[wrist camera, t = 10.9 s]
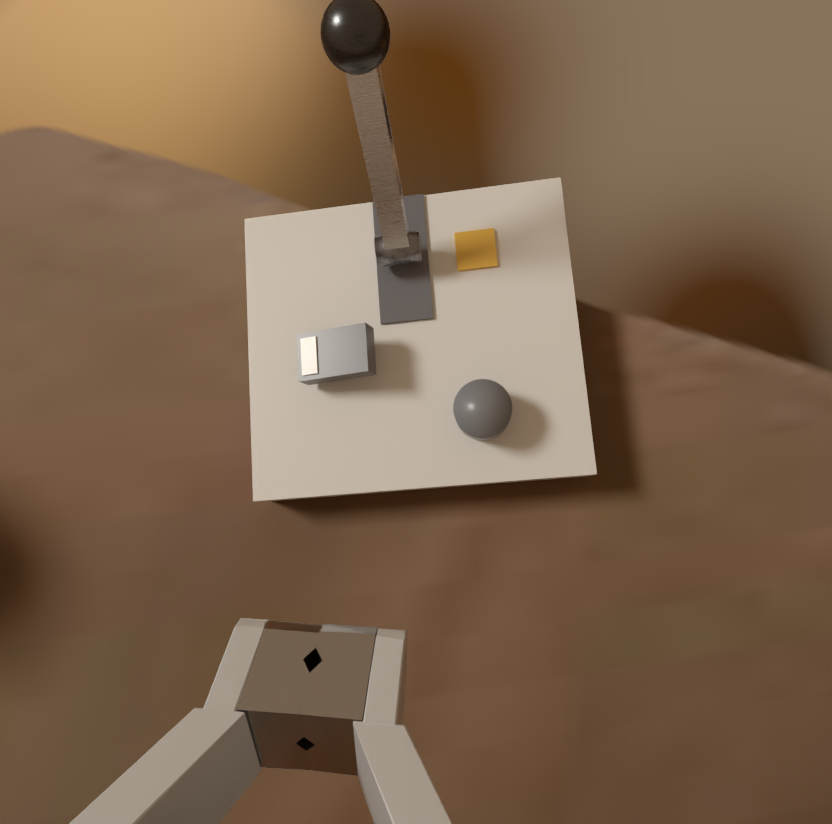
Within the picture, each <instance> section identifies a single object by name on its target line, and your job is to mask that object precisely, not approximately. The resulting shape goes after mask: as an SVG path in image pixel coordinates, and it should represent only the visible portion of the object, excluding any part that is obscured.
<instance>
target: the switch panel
mask: <svg viewBox="0 0 832 824" xmlns="http://www.w3.org/2000/svg"><path fill="white" fill-rule="evenodd" d="M403 200H404V206H405V211H406V217H407V222H408V228H409V231H417V230H419V231H420V236H421V243H422V253H423V262H418V263H409V264H401V265H393V266H384V267H379V266H378V264H377V260H376V255H375V246H374V237H375V236H378V235H382V233H381V229H380V225H379V220H378V216H377V211H376V207H375V202H374V200H373V201H372V202H370V203H363V204H356V205H348V206H340V207H332V208H325V209H317V210H309V211H302V212H294V213H287V214H279V215H272V216H264V217H256V218H249V219H245V250H246V283H247V316H248V349H249V382H250V415H251V447H252V480H253V501H281V500H294V499H307V498H319V497H332V496H345V495H358V494H370V493H383V492H396V491H408V490H421V489H434V488H447V487H459V486H472V485H485V484H497V483H510V482H523V481H536V480H548V479H561V478H574V477H587V476H592V475H596V474H597V470H596V462H595V454H594V445H593V437H592V429H591V421H590V413H589V405H588V397H587V389H586V380H585V372H584V364H583V356H582V348H581V340H580V332H579V324H578V315H577V307H576V299H575V291H574V283H573V275H572V267H571V259H570V251H569V242H568V234H567V227H566V219H565V210H564V202H563V194H562V186H561V179H560V178H552V179H545V180H537V181H530V182H522V183H515V184H507V185H500V186H492V187H484V188H477V189H469V190H462V191H454V192H446V193H439V194H431V195H423V194H418V195H411V196H403ZM360 323H367V324H368V325H370V326H371V327H373V328H374V343H375V358H376V373H377V375H373V376H366V377H359V378H353V379H346V380H340V381H333V382H326V383H320V384H313V385H307V384H304V383H301V382H298V360H297V337H296V335H300V334H305V333H310V332H316V331H321V330H327V329H332V328H338V327H343V326H349V325H354V324H360ZM478 379H488V380H492V381H495V382H497V383H499V384H500V385H502V386H503V387H504V388H505V389H506V391H507V392H508V394H509V396H510V398H511V401H512V415H511V418H510V422H509V424H508V426H507V428H506V429H505V430H504V431H503V433H501V434H500V435H499V436H497V437H495V438H493V439H490V440H476V439H473V438H470V437H469V436H467V435H466V434H464V433H463V432H462V431H461V429H460V428H459V426H458V424H457V422H456V419H455V416H454V412H453V404H454V400H455V397H456V395H457V393H458V392H459V390H460V389H461V388H462V387H463V386H464V385H465V384H467V383H469V382H471V381H474V380H478Z"/></svg>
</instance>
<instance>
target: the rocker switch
mask: <svg viewBox="0 0 832 824" xmlns="http://www.w3.org/2000/svg"><path fill="white" fill-rule="evenodd" d="M296 337H297V360H298V382H301V383H304V384H307V385H313V384H320V383H326V382H333V381H340V380H346V379H353V378H359V377H366V376H373V375H377V373H376V358H375V343H374V328H373V327H371V326H370V325H368V324H367V323H360V324H354V325H349V326H343V327H338V328H332V329H327V330H321V331H316V332H310V333H305V334H300V335H296Z"/></svg>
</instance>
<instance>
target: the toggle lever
mask: <svg viewBox="0 0 832 824" xmlns="http://www.w3.org/2000/svg"><path fill="white" fill-rule="evenodd" d="M321 40H322V45H323V48H324V51H325V53H326V55H327V56H328V58H329V59H330V61H331V62H332V63H333V64H334V65H335V66H336V67H337V68H339V69H340V70H342V71H343V72H345V74H346V79H347V83H348V87H349V92H350V96H351V101H352V105H353V109H354V114H355V118H356V123H357V127H358V131H359V136H360V140H361V145H362V149H363V154H364V158H365V163H366V167H367V171H368V176H369V180H370V185H371V189H372V194H373V198H374V202H375V207H376V211H377V216H378V220H379V225H380V229H381V233H382V235H378V236H375V237H374V246H375V255H376V260H377V264H378V266H379V267H384V266H393V265H401V264H409V263H418V262H423V253H422V243H421V236H420V231H419V230H417V231H409V228H408V222H407V217H406V211H405V206H404V200H403V195H402V189H401V183H400V178H399V172H398V167H397V161H396V156H395V150H394V145H393V139H392V133H391V128H390V122H389V117H388V111H387V105H386V101H385V94H384V89H383V84H382V78H381V72H380V66H379V65H380V64H381V63H382V62H383V60H384V59H385V57H386V55H387V52H388V49H389V45H390V27H389V22H388V19H387V17H386V15H385V13H384V11H383V9H382V8H381V6H379V4H378V3H377V2H376V1H375V0H333V1H332V2H331V3H330V4H329V6H328V7H327V9H326V10H325V13H324V15H323V18H322V22H321Z"/></svg>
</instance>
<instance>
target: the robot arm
mask: <svg viewBox="0 0 832 824" xmlns="http://www.w3.org/2000/svg"><path fill="white" fill-rule="evenodd" d="M406 668H407V630H398V629H378V627H362V626H344V625H327V624H323V625H319V624H306V623H294V622H282V621H271V620H263V619H248V618H241V619H240V620H239V621H238V623H237V624H236V626H235V627H234V629H233V632H232V635H231V637H230V640H229V643H228V645H227V648H226V650H225V653H224V656H223V658H222V661H221V664H220V666H219V669H218V671H217V674H216V677H215V679H214V682H213V684H212V687H211V690H210V692H209V695H208V698H207V700H206V703H205V705H204V708H194V709H193V710H192V711H191V712H190V713H189V714H188V715H187V716H186V717H184V718H183V719H182V720H181V721H180V722H179V723H178V724H177V725H176V726H175V727H174V728H172V729H171V730H170V731H169V732H168V733H167V734H166V735H165V736H164V737H163V738H162V739H161V740H159V741H158V742H157V743H156V744H155V745H154V746H153V747H152V748H151V749H150V750H149V751H147V752H146V753H145V754H144V755H143V756H142V757H141V758H140V759H139V760H138V761H137V762H136V763H134V764H133V765H132V766H131V767H130V768H129V769H128V770H127V771H126V772H125V773H124V774H122V775H121V776H120V777H119V778H118V779H117V780H116V781H115V782H114V783H113V784H112V785H111V786H109V787H108V788H107V789H106V790H105V791H104V792H103V793H102V794H101V795H100V796H99V797H97V798H96V799H95V800H94V801H93V802H92V803H91V804H90V805H89V806H88V807H87V808H86V809H84V810H83V811H82V812H81V813H80V814H79V815H78V816H77V817H76V818H75V819H74V820H72V821H71V822H70V823H69V824H219V823H220V822H221V821H222V820H223V818H224V817H225V816H226V815H227V813H228V812H229V811H230V810H231V808H232V807H233V806H234V805H235V803H236V802H237V801H238V800H239V798H240V797H241V796H242V795H243V793H244V792H245V791H246V790H247V788H248V787H249V786H250V785H251V783H252V782H253V781H254V780H255V778H256V777H257V776H258V775H259V773H260V772H261V767H264V768H281V769H298V770H312V771H321V772H329V773H338V774H346V775H355V776H358V779H359V782H360V785H361V787H362V790H363V793H364V796H365V799H366V802H367V805H368V807H369V810H370V813H371V816H372V819H373V822H374V824H452V823H451V821H450V819H449V817H448V815H447V813H446V811H445V808H444V806H443V804H442V802H441V800H440V798H439V796H438V794H437V791H436V789H435V787H434V785H433V783H432V781H431V779H430V777H429V775H428V772H427V770H426V768H425V766H424V764H423V762H422V760H421V758H420V755H419V753H418V751H417V749H416V747H415V745H414V743H413V741H412V739H411V736H410V734H409V732H408V730H407V728H406V726H405V725H403V715H404V704H405V690H406Z"/></svg>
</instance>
